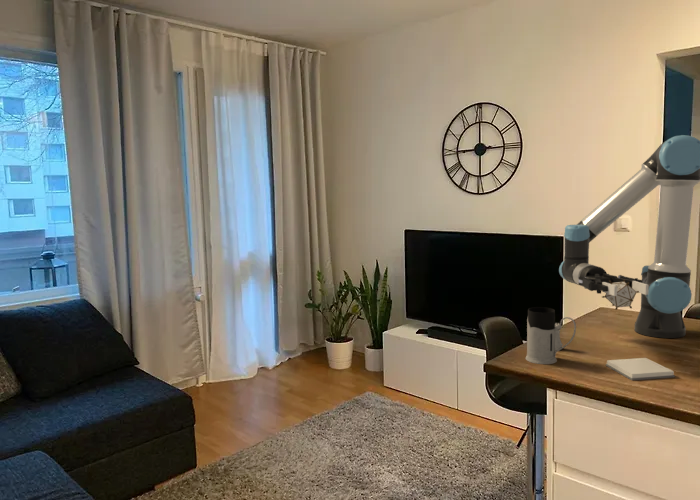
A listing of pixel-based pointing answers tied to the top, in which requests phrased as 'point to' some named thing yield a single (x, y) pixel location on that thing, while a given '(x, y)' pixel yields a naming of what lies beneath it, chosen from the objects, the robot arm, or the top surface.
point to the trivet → (640, 369)
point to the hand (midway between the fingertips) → (631, 290)
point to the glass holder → (542, 335)
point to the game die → (621, 295)
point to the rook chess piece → (557, 338)
